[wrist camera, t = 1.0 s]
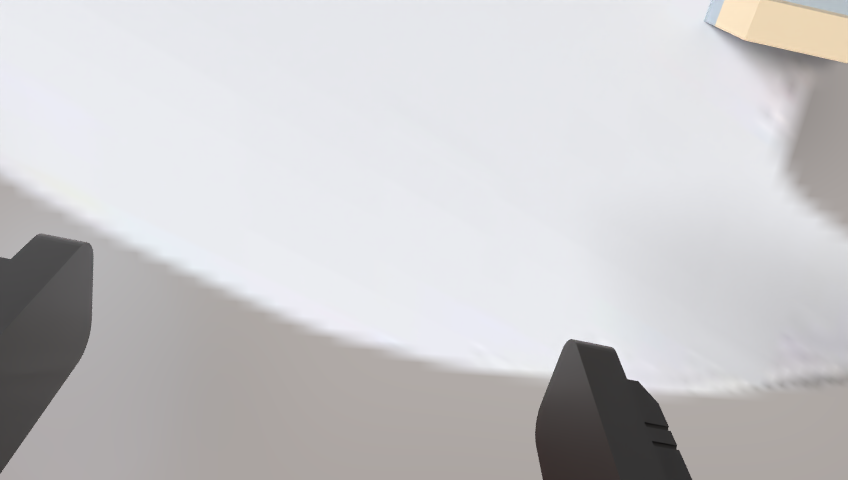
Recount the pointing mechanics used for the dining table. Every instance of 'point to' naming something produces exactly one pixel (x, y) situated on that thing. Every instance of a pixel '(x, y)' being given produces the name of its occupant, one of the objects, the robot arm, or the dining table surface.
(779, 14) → the board
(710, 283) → the dining table surface
